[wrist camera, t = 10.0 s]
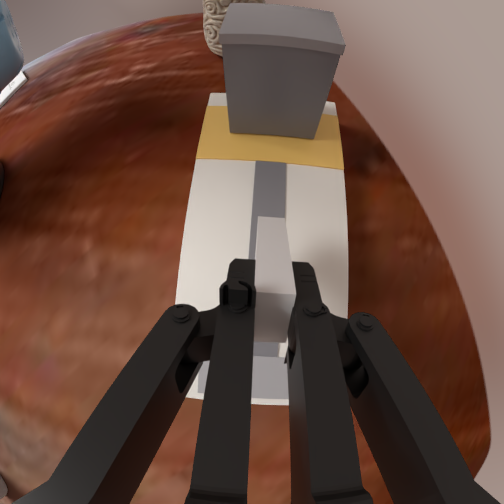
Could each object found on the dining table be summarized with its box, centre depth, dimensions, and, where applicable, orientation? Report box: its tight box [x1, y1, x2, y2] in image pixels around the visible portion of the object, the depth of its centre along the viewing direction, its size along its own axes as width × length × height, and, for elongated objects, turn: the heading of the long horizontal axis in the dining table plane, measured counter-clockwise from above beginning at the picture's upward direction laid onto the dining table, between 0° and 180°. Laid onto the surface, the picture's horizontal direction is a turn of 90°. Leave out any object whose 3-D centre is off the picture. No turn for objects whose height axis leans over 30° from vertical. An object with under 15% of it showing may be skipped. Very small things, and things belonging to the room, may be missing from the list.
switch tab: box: [219, 3, 346, 139], centre depth 17 cm, size 5×7×10 cm
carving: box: [203, 0, 265, 57], centre depth 23 cm, size 6×8×12 cm
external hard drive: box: [0, 71, 28, 108], centre depth 30 cm, size 2×8×12 cm
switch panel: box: [175, 93, 348, 405], centre depth 21 cm, size 26×12×3 cm, turn 176°
